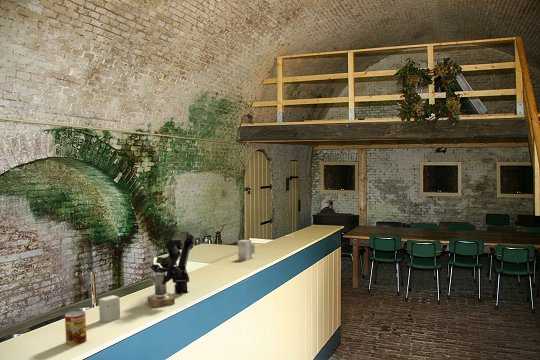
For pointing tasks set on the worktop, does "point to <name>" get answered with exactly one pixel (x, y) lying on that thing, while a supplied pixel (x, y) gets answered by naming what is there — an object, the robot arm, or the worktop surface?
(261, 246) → the worktop surface
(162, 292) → the cylinder
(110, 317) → the small box
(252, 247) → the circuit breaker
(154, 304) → the stand
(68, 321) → the canned food
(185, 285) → the robot arm
